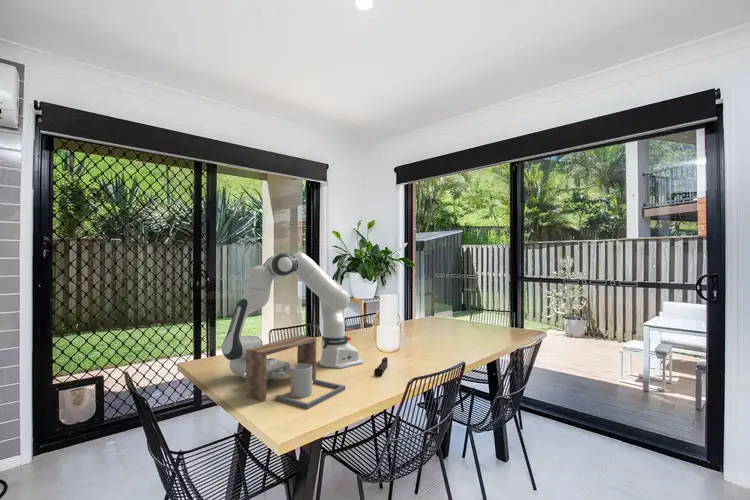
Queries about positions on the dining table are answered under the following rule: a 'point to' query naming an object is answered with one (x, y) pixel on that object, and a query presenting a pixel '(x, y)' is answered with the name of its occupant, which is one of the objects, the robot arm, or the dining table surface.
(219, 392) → the dining table surface
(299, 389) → the mug
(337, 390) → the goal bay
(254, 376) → the wooden bridge arch
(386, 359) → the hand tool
